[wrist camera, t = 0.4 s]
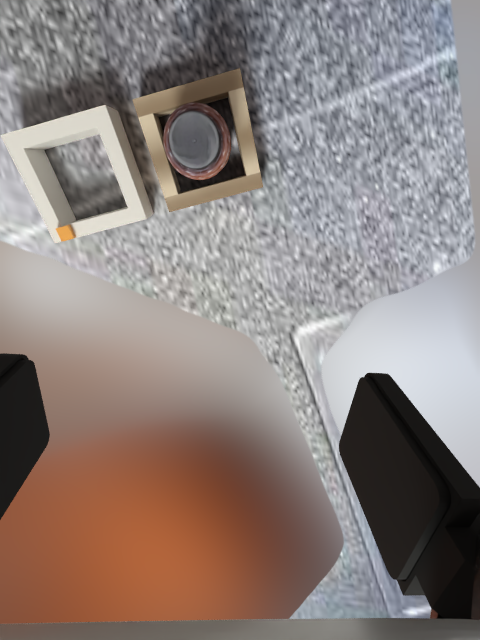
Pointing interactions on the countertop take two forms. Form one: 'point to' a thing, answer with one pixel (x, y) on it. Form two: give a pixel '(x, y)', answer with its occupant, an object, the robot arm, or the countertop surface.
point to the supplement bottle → (197, 141)
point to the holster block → (203, 93)
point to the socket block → (46, 187)
